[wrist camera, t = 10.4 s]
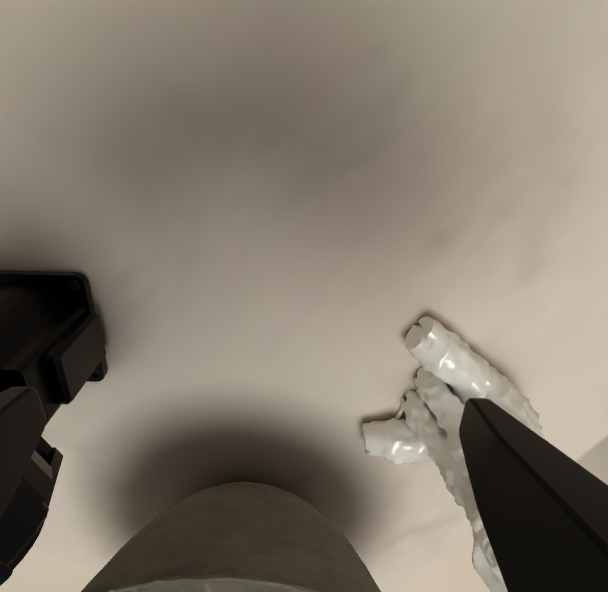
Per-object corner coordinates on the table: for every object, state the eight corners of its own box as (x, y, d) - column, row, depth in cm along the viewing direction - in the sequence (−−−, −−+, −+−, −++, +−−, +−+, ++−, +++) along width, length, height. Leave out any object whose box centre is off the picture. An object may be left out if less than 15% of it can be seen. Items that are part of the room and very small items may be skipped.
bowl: (98, 566, 33) (22, 748, 24) (137, 375, 25) (42, 543, 16) (329, 610, 35) (338, 789, 27) (431, 451, 27) (493, 631, 19)
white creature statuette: (414, 306, 23) (514, 506, 12) (558, 346, 24) (764, 562, 13) (353, 434, 27) (386, 670, 16) (478, 463, 28) (586, 702, 17)
